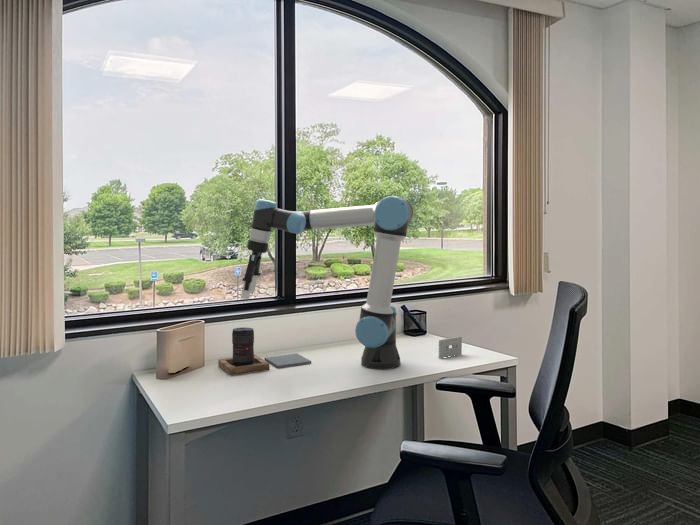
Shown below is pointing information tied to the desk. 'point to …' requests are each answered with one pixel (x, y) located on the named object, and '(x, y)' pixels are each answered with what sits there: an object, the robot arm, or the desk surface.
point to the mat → (287, 360)
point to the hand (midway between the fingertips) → (247, 294)
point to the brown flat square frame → (256, 367)
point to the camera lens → (243, 346)
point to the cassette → (446, 351)
